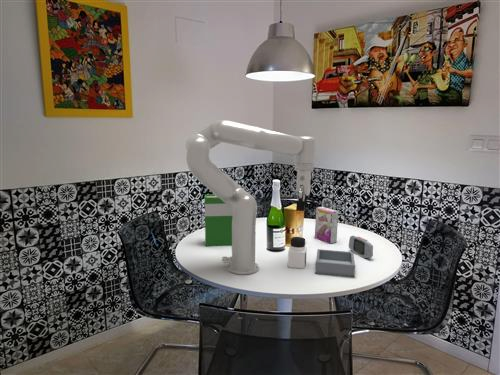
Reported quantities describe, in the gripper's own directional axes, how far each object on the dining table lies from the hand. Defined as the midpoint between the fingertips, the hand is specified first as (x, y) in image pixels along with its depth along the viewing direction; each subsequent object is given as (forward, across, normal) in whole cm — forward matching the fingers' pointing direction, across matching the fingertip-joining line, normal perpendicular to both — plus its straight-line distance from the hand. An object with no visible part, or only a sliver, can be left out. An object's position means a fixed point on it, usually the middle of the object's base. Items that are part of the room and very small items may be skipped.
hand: (301, 207), depth 152 cm
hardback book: (+25, +16, +39) cm, 49 cm away
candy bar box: (+24, +34, -10) cm, 43 cm away
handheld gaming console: (+24, +18, -26) cm, 40 cm away
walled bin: (+24, -1, -15) cm, 28 cm away
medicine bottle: (+25, -1, 0) cm, 25 cm away
